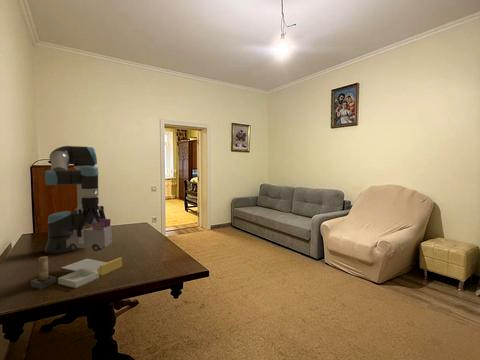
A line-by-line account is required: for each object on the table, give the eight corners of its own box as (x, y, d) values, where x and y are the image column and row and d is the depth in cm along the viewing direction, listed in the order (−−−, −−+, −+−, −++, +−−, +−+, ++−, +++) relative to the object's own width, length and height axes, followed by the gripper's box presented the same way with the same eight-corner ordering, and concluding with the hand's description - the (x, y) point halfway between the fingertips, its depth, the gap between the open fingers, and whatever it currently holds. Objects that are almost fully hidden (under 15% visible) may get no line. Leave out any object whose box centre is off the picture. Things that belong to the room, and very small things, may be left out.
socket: (31, 286, 110) (30, 280, 110) (47, 280, 116) (46, 275, 116) (40, 289, 108) (40, 283, 108) (56, 282, 114) (56, 277, 114)
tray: (58, 284, 112) (58, 277, 112) (82, 274, 123) (81, 268, 123) (75, 289, 108) (75, 282, 108) (98, 278, 119) (98, 272, 118)
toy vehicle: (76, 244, 136) (75, 216, 134) (113, 245, 136) (112, 217, 134) (64, 251, 127) (63, 222, 125) (104, 252, 127) (103, 223, 125)
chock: (97, 274, 122) (97, 265, 122) (117, 265, 133) (117, 257, 133) (101, 275, 121) (101, 266, 121) (122, 266, 132) (122, 257, 132)
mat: (61, 268, 130) (61, 267, 130) (86, 259, 143) (86, 258, 143) (98, 276, 121) (98, 275, 121) (122, 266, 134) (122, 265, 134)
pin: (37, 285, 111) (36, 258, 111) (45, 282, 114) (44, 255, 114) (42, 286, 110) (41, 259, 110) (50, 283, 113) (49, 256, 113)
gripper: (73, 199, 119) (74, 247, 120) (113, 195, 140) (114, 236, 140) (62, 198, 122) (63, 245, 122) (103, 194, 142) (104, 234, 143)
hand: (91, 240), depth 131 cm, fingers open, 10 cm apart
